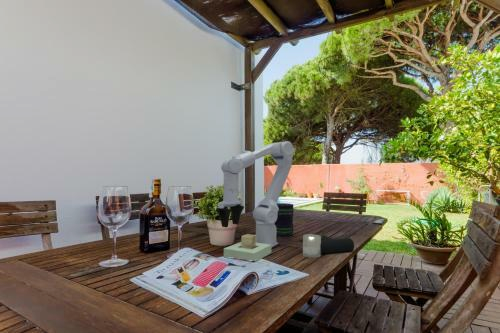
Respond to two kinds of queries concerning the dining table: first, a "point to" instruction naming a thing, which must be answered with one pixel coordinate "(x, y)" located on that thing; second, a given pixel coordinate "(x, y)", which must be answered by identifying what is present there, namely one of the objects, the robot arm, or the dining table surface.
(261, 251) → the hole plate
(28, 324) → the dining table surface
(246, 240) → the square peg
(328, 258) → the dining table surface
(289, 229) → the storage jar
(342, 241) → the pipe connector
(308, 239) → the round peg
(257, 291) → the dining table surface
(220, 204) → the robot arm
